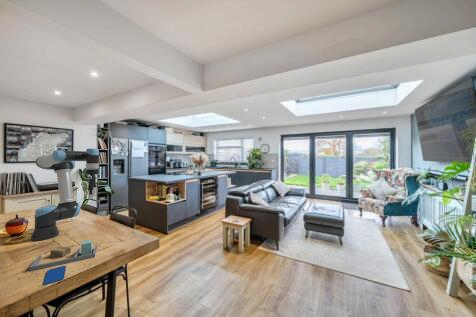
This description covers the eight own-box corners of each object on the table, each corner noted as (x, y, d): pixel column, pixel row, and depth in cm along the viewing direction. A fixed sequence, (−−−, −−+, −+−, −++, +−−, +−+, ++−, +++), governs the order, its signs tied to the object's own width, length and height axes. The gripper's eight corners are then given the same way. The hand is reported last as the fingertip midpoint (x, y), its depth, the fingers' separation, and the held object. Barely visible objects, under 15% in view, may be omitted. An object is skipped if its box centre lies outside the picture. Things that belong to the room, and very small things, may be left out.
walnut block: (50, 257, 114) (58, 253, 119) (62, 257, 114) (70, 253, 119) (50, 250, 114) (58, 246, 119) (62, 250, 114) (70, 247, 119)
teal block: (82, 252, 120) (82, 241, 120) (92, 250, 123) (92, 239, 123) (80, 255, 116) (81, 244, 116) (91, 253, 118) (91, 242, 119)
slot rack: (38, 259, 111) (38, 256, 111) (97, 247, 126) (97, 244, 126) (28, 271, 99) (28, 267, 99) (94, 257, 114) (94, 253, 114)
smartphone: (42, 285, 88) (47, 270, 99) (42, 287, 88) (47, 271, 99) (63, 278, 93) (66, 265, 104) (63, 280, 93) (66, 266, 104)
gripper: (88, 168, 148) (88, 195, 148) (83, 169, 127) (82, 201, 126) (100, 168, 152) (100, 194, 152) (96, 169, 131) (96, 199, 130)
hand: (92, 197), depth 139 cm, fingers open, 13 cm apart
